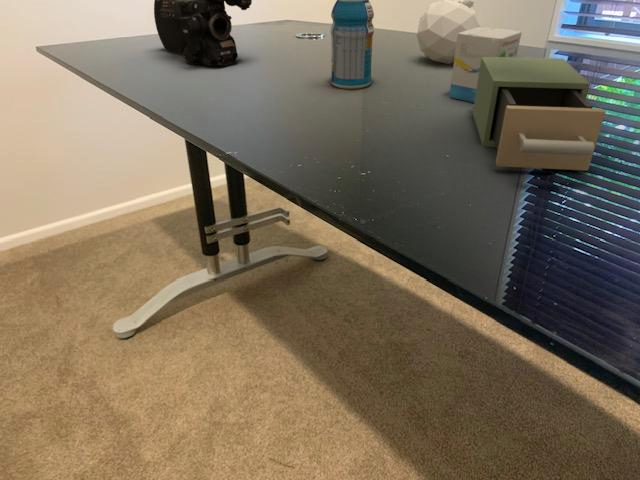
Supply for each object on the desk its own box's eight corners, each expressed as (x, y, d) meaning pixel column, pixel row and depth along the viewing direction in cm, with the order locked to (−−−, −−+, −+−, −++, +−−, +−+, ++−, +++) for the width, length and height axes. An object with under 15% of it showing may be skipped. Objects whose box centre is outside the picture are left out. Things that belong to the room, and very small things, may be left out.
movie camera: (271, 57, 122) (261, -25, 112) (208, 74, 112) (191, -13, 103) (203, 44, 142) (189, -26, 132) (144, 58, 132) (125, -17, 123)
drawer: (598, 185, 61) (618, 123, 57) (501, 180, 63) (513, 119, 59) (562, 133, 76) (575, 81, 72) (484, 130, 78) (492, 79, 73)
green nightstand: (572, 150, 73) (590, 83, 68) (482, 146, 75) (493, 80, 70) (549, 117, 85) (563, 58, 80) (472, 114, 87) (481, 56, 82)
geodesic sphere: (498, 31, 119) (468, -24, 115) (493, 43, 107) (459, -17, 104) (443, 67, 127) (412, 17, 124) (432, 82, 116) (399, 27, 112)
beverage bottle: (341, 92, 99) (343, -22, 88) (323, 81, 106) (323, -26, 95) (379, 86, 102) (384, -25, 91) (359, 76, 108) (362, -28, 98)
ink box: (489, 106, 90) (501, 38, 84) (447, 97, 95) (455, 32, 89) (510, 95, 96) (523, 30, 89) (469, 87, 101) (479, 25, 94)
